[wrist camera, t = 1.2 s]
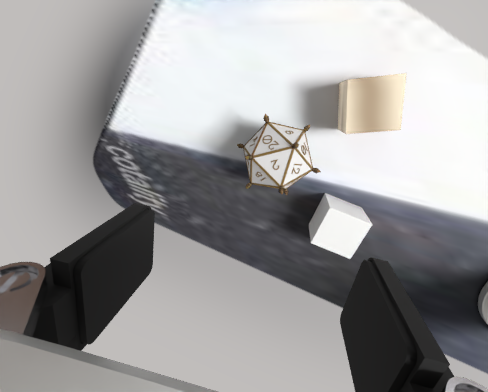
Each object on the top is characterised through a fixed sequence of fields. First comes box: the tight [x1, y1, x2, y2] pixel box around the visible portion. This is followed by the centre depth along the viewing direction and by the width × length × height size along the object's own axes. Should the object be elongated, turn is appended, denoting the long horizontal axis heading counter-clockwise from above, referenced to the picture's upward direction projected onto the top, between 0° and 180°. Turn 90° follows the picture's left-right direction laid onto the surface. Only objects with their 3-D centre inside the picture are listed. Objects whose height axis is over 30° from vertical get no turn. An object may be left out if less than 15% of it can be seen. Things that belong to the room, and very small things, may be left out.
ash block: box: [338, 73, 407, 134], centre depth 27 cm, size 5×5×5 cm
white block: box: [309, 193, 372, 259], centre depth 32 cm, size 5×5×5 cm
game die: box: [237, 114, 321, 195], centre depth 29 cm, size 9×8×10 cm
